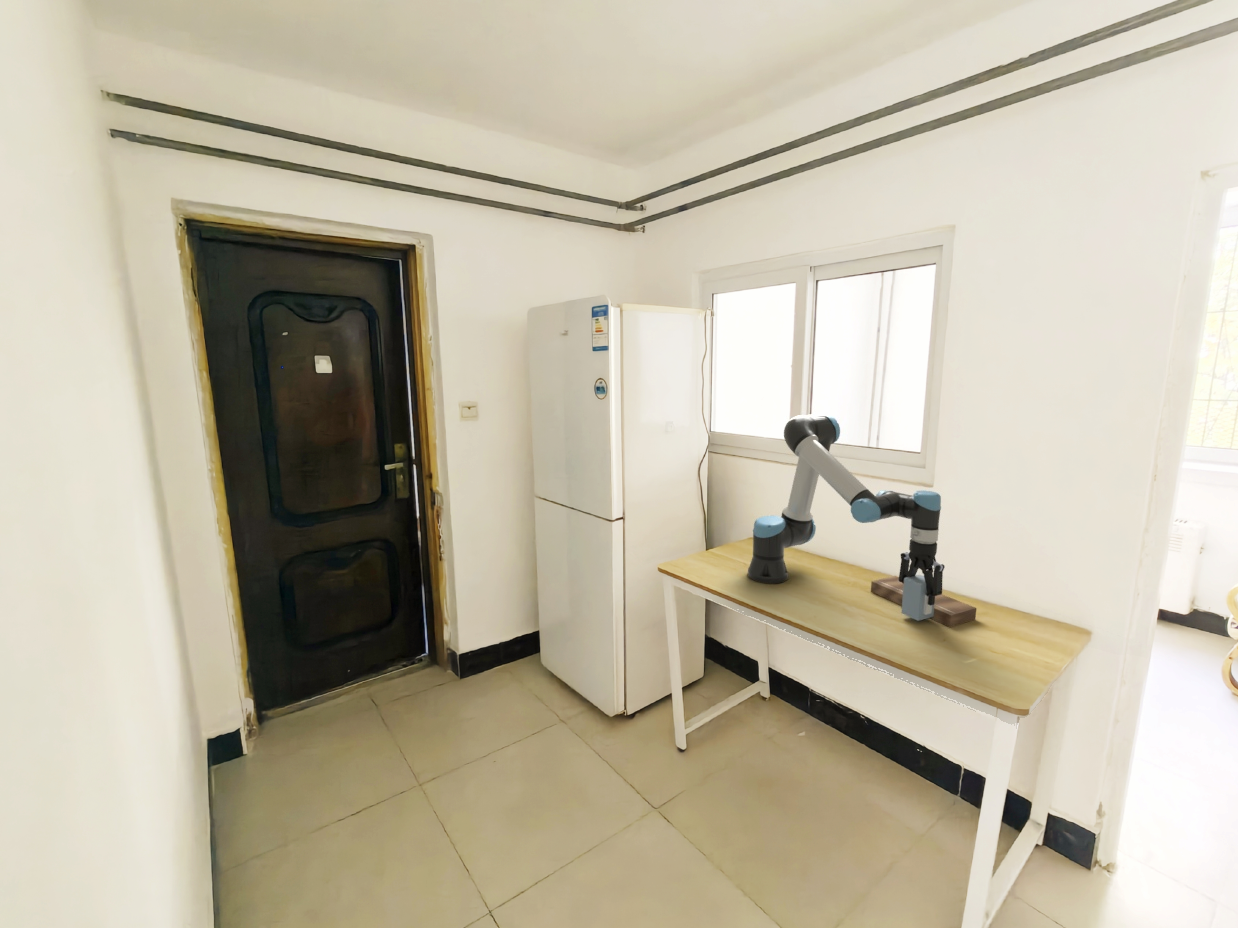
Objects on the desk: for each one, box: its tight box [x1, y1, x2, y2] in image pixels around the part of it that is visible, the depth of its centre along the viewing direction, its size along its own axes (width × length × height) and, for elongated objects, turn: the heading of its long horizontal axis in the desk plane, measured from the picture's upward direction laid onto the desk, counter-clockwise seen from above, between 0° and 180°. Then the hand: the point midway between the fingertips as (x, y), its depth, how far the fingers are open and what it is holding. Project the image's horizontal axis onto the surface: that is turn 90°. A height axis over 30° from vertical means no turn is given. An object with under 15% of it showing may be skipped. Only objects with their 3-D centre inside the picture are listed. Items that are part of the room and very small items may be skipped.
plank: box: [870, 575, 977, 628], centre depth 181 cm, size 30×12×4 cm, turn 23°
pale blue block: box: [900, 574, 935, 622], centre depth 171 cm, size 6×11×12 cm, turn 113°
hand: (917, 609), depth 171 cm, fingers closed on pale blue block, 6 cm apart
